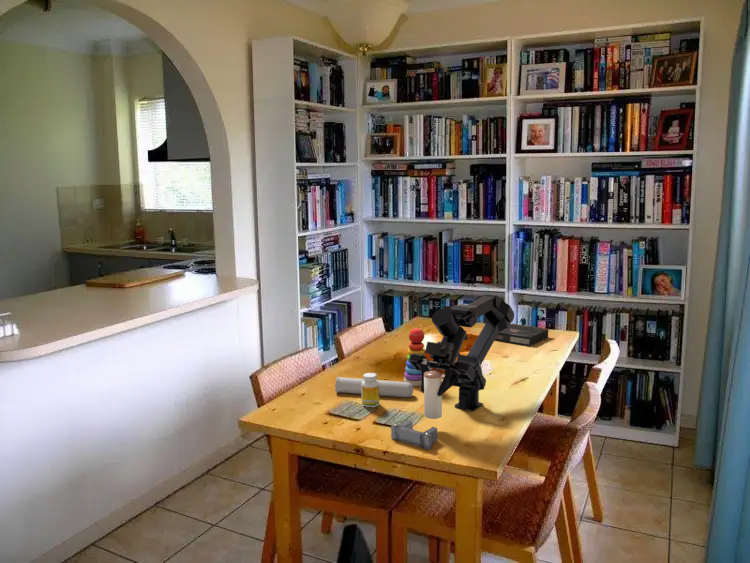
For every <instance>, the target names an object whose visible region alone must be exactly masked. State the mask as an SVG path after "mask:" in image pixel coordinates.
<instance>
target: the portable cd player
mask: <svg viewBox="0 0 750 563" xmlns="http://www.w3.org/2000/svg"><path fill="white" fill-rule="evenodd" d="M548 338H549V328H544V327H537V326H533V325H531V326H530V325H525V324H524V325H523V324H517V323H511V324H510V325H509V326H508V328H507V329H505V330H503V331H501V332H499V333H498V335H497V337H496V339H495V340H494V342H495V341H496V342H501V343H506V344H507V343H508V344H513V345H517V346H518V345H519V346H525V347H529V348H530V347H532V346H534V345H536V344H538V343H540V342H542V341H544V340H547V339H548Z"/></svg>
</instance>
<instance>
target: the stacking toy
mask: <svg viewBox="0 0 750 563" xmlns="http://www.w3.org/2000/svg"><path fill="white" fill-rule="evenodd" d="M408 339H409V341H410V342H409V343H408V349H407V356H406V359H407V360H406V362H405V364H406V366H405V368H404V370H405V372H404V373H403V375H404V378H403V382H409V383H410V384H412V385H413V387H421V381H422V373H421V371H417V370H416V369H415V368H414V367H413V366H412V365H411V363H410V362H409V361H408V360H409V358H410V355H411V354H413V353H416V354H422V355H424V356H425V357H426V355H425V348H424V347H425V344H424V342H423V341H424V339H425V333H424V331H423V330H422V329H421V328H417V327H415V328H413V329H411V330H410V331H409V333H408Z"/></svg>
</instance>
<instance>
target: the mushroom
mask: <svg viewBox="0 0 750 563" xmlns="http://www.w3.org/2000/svg"><path fill="white" fill-rule="evenodd" d="M442 376H443V375H442V372H441V371H438V370H431V371H427V372H425V373H424V393H423V399H424V401H423V404H424V407H423V408H424V410H423V411H424V412H423V414H424V417H425V418H426V419H431V420H437V419H440V418H442V417H443V394H442V395H441V396H440V397H439V396H438V395H437V394H438V390H439V388H440V386H441V383H442V381H443V377H442Z"/></svg>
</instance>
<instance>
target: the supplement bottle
mask: <svg viewBox="0 0 750 563" xmlns="http://www.w3.org/2000/svg"><path fill="white" fill-rule="evenodd" d="M362 379H364V381H362V383H361V392H362V394H361V405H362V407H364V406H366V407H365V408H367V407H373V408H376V406H377V407H378V406H379V405H380V396H379V382H378V381H377V380H378V379H377V373H374V372H367V373H363V376H362Z"/></svg>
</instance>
